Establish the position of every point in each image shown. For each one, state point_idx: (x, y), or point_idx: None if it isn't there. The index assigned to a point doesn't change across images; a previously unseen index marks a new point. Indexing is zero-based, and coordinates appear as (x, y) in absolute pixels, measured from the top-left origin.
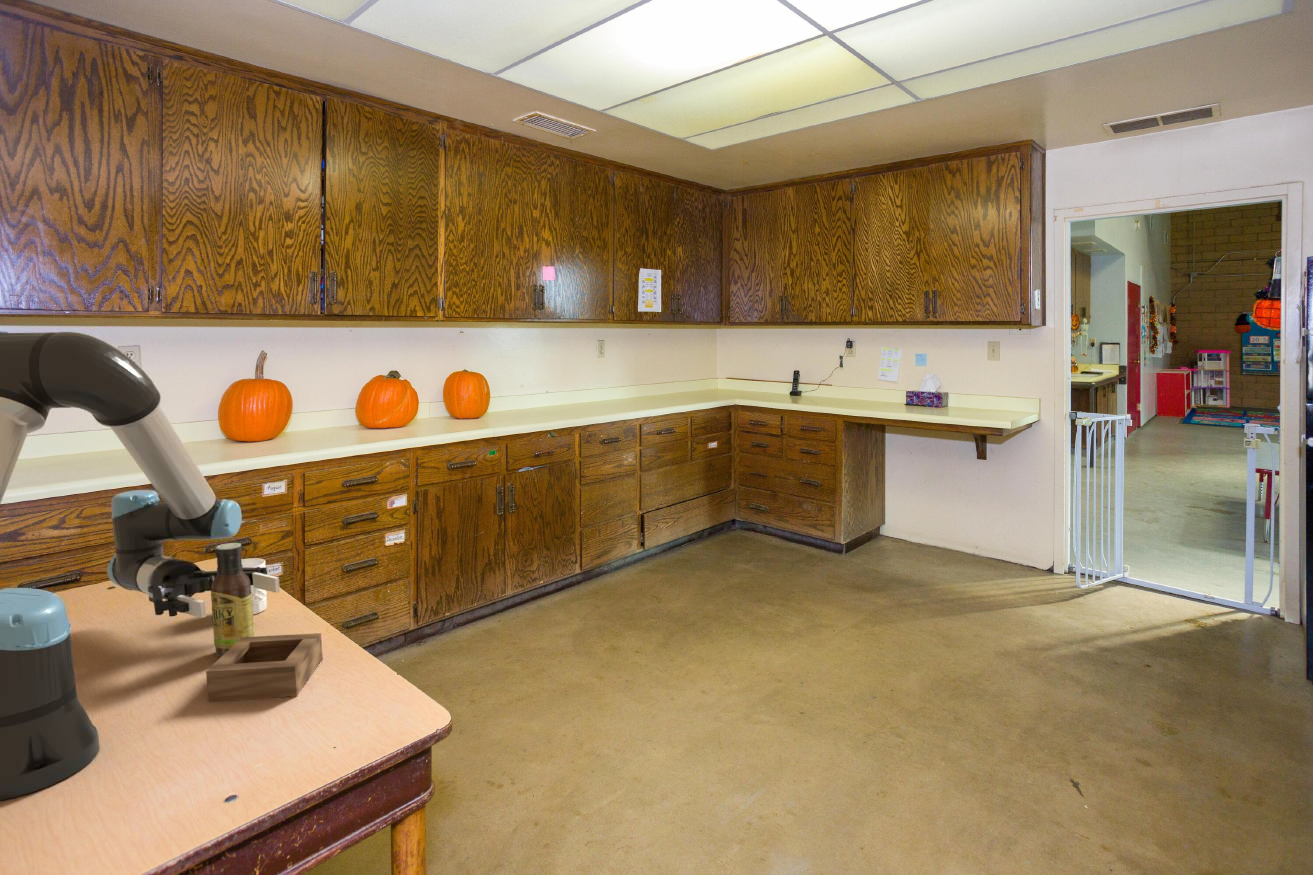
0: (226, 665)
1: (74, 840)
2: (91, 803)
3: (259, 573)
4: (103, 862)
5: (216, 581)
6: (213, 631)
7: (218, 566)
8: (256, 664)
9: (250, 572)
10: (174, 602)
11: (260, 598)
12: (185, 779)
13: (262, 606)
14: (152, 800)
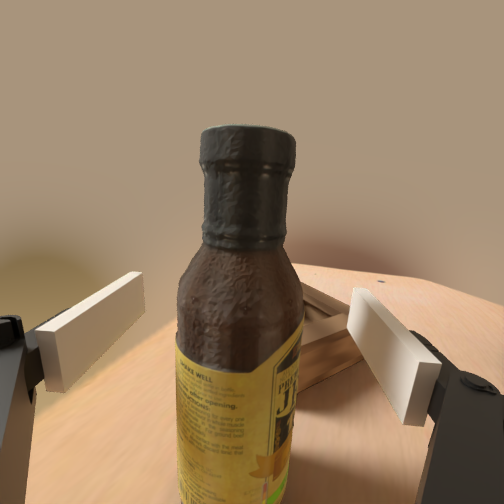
0: (345, 312)
1: (476, 304)
2: (477, 318)
3: (67, 313)
4: (450, 289)
5: (294, 271)
6: (285, 462)
7: (285, 217)
8: (316, 296)
9: (7, 357)
10: (449, 366)
11: None
12: (405, 300)
13: None
14: (428, 300)
